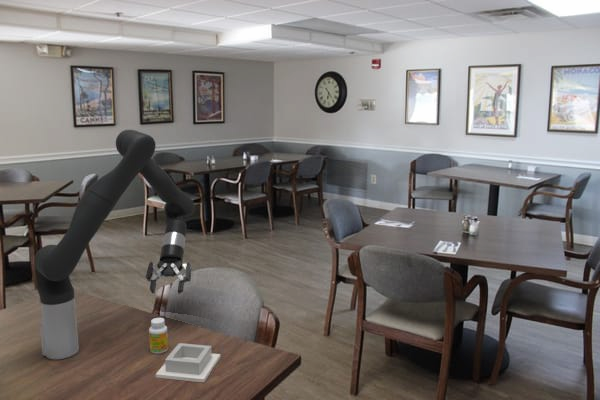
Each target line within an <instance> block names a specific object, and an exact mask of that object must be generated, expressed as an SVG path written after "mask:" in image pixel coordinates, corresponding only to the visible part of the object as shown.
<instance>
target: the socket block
mask: <svg viewBox="0 0 600 400" xmlns="http://www.w3.org/2000/svg"><path fill="white" fill-rule="evenodd" d="M220 359H221V354H220V353H212V345H203V344H195V343H194V344H192V343H181V342H178V344H176V346H175V347H174V349H173V350H172V351H171V352H170V353H169V354H168V355H167V357H166V358H165V359H164V364H163V365H162V366H161V368H160V369H158V371H157V372H155V378H158V379H167V380H176V381H186V382H193V383H194V382H195V383H205V382H206V380H207V379H208V377H209V376H210V374H211V373H212V371H213V370H214V368H215V366H216V365H217V363H218V361H219V360H220Z"/></svg>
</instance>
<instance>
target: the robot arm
mask: <svg viewBox="0 0 600 400" xmlns="http://www.w3.org/2000/svg"><path fill="white" fill-rule="evenodd" d="M156 147H157V146H156V141H155V139H154V137H152V135H150V134H148V133H144V132H140V131H138V130H134V129H124V130H122V131H121V132H119V134H117V136H116V139H115V148H116V150H117V152H118V154H119V155H120V156H121V157H122V159H121V160H120V162H119V163H118V164H117V165H116V166H115V167H114V168H113V169H112V170H111V171H109V172H107V173H106V174H105V175H103V176H101V177H100V178H98V179H97V180H95V181H94V182H92V184H91V185H90V186H89V187H88V188H87V190H86V191H85V192H84V194H83V195H82V197H81V198H80V199H79V201H78V203H77V205H76V207H75V210H74V213H73V214H72V218H71V220H70V224H69V227H68V229H67V231H66V233H65V234H64V235H63V237H62V238H61V240H59V242H58V243H57V245H56V244H47V245H44V246H42V247H41V248H40V249H39V250H38V251H37V252H36V254H35V255H34V261H33V269H34V277H35V283H36V290H37V292H38V296H39V302H40V311H41V312H40V313H41V321H42V323H41V324H40V325H39V333H40V334H39V335H40V343H41V344H40V345H41V354H42V356H45V357H46V358H47V359H50V360H64V359H67V358H71V357H72V356H74V355H76V354H77V353H78V352H79V350H80V345H79V335H78V323H77V312H76V311H77V309H76V302H75V301H76V300H75V299H76V298H75V289H74V286H73V283H72V281H71V279H70V276H71V274H72V273H73V272H74V270H75V268H76V267H77V265H78V263H79V262H80V260H81V257H83V254H84V252H85V251H86V249H87V248H88V247H87V246H88V245H89V243H91V240H92V239H93V238H94V237H95V235H96V234H97V232H98V231H99V229H100V228H101V226H102V225H103V223H104V222H105V220H106V219H107V218H108V216H109V215H110V214H111V212H112V211H113V209H114V208H115V206H116V205H117V203H118V202H119V200H120V199H121V197H122V196H123V195H124V193H125V192H126V190H127V189H128V187H129V186H130V185H131V183H132V182H133V181H134V180H135V179H136V177H137V176H138V174H140V175H141V176H142V177H143V179H145V181H146V182H147V183H148V184H149V186H150V188H152V190H153V191H154V193H156V196H158V198H159V199H160V200H161V201H162V202H163V203H165V204H164V206H163V207H164V208H163V210H164V216H165V229H164V230H165V231H164V236H163V239H162V244H161V251H160V255H159V261H158V262H157V263H154V262H152V261H150V262H149V264H148V266H147V271H146V274H145V278H146V280H147V282H150V286H149V291H150V292H151V294H155V293H156V287H157V282H159V280H160V279H162V278H163V277H165V278H166V277H172V278H173V277H175V276H176V278H178V284H177V293H178V294H179V295H181V294H182V293H183V292H184V286H185V283H187V282H188V283H189V282H191V277H192V264H191V262H189V261H188V262H187V263H184V261H183V259H184V254H185V248H186V234H187V223H186V222H185V221H184V220H182V219H181V218H187V217H190V216H192V215H193V214H194V213H195V211H196V210H195V209H196V206H195V203H194V201H193V199H192V198H191V197H190V196H189V195H188V194H187V193H185V192H184V191H183V190H181V189H180V188H179V187H178V186H177V185H176V183H175V182H174V181H173V179H172V177H171V176H170V175H169V174H168V173H167V172H166V171H165V170H164V169H163V168H161V166H159V165H158V164H157V163H156V162H155V161H154V160H153V159H152V157H153V156H154V154H155V151H156ZM156 269H157V271H155V270H156ZM183 269H184V271H185V276H183V275H182V274H181V271H182V270H183ZM154 271H155V273H154Z"/></svg>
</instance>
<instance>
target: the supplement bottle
mask: <svg viewBox="0 0 600 400" xmlns="http://www.w3.org/2000/svg"><path fill="white" fill-rule="evenodd" d="M165 323H166V322H165V318H163V317H155V318H152V319H151V321H150V327H149V328H148V338H149V339H148V340H149V351H150V352H151V353H152V354H156V355H157V354H158V355H159V354H163V353H165V352H167V351H168V350H169V339H168V338H169V337H168V326H166V324H165Z"/></svg>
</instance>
